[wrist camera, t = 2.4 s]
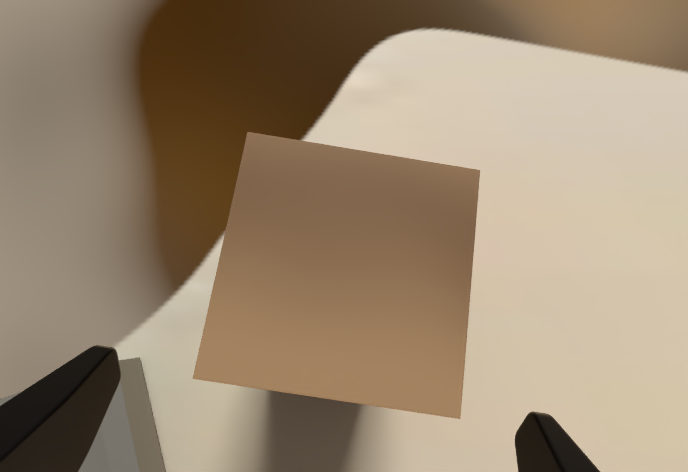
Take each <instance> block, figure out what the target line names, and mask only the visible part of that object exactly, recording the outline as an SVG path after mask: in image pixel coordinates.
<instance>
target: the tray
mask: <svg viewBox="0 0 688 472" xmlns="http://www.w3.org/2000/svg"><path fill="white" fill-rule="evenodd" d="M119 365H120V370H121V379H120V382H119V385H118V387H117V389H116V392H115V394H114V396H113V399H112V401H111V403H110V405H109V408H108V410H107V412H106V414H105V417H104V419H103V421H102V424H101V426H100V428H99V430H98V433H97V435H96V437H95V439H94V442H93V444H92V446H91V448H90V450H89V452H88V454H87V456H86V458H85V460H84V462H83V464H82V466H81V467H80V469H79V471H78V472H165V468H164V463H163V459H162V454H161V450H160V445H159V441H158V436H157V432H156V428H155V423H154V419H153V414H152V410H151V405H150V401H149V396H148V392H147V387H146V383H145V379H144V374H143V370H142V365H141V361H140V358H133V359H126V360H120V361H119ZM20 393H21V392H20ZM18 394H19V393H17V394H14V395H11V396H8V397H5V398H2V399H0V406H1V405H2V404H4V403H5V402H7V401H8V400H10V399H12V398H13V397H15V396H16V395H18Z"/></svg>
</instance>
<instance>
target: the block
mask: <svg viewBox="0 0 688 472" xmlns="http://www.w3.org/2000/svg"><path fill="white" fill-rule="evenodd" d="M479 177H480V170H475V169H469V168H463V167H457V166H451V165H445V164H439V163H433V162H427V161H421V160H415V159H409V158H403V157H397V156H391V155H384V154H378V153H372V152H366V151H360V150H354V149H348V148H342V147H336V146H330V145H324V144H318V143H312V142H306V141H300V140H294V139H288V138H281V137H275V136H269V135H263V134H257V133H251V132H248V133H247V137H246V142H245V147H244V151H243V155H242V160H241V164H240V169H239V174H238V178H237V182H236V187H235V191H234V196H233V200H232V205H231V209H230V214H229V218H228V223H227V227H226V232H225V236H224V241H223V245H222V250H221V254H220V259H219V263H218V268H217V272H216V277H215V281H214V286H213V290H212V295H211V299H210V304H209V308H208V313H207V317H206V322H205V326H204V331H203V335H202V339H201V344H200V348H199V353H198V357H197V362H196V366H195V371H194V375H193V379H199V380H205V381H212V382H219V383H225V384H232V385H238V386H245V387H252V388H258V389H265V390H272V391H278V392H285V393H292V394H298V395H305V396H311V397H318V398H325V399H331V400H338V401H345V402H351V403H358V404H365V405H371V406H378V407H385V408H391V409H398V410H404V411H411V412H418V413H424V414H431V415H438V416H444V417H451V418H458V419H460V416H461V403H462V390H463V378H464V365H465V353H466V340H467V328H468V315H469V302H470V290H471V277H472V265H473V252H474V240H475V227H476V214H477V202H478V189H479Z"/></svg>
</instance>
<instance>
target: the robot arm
mask: <svg viewBox="0 0 688 472" xmlns="http://www.w3.org/2000/svg"><path fill="white" fill-rule="evenodd" d="M120 379H121V370H120V365H119V360H118V355H117V351H116V350H115V349H114V348H113V347H107V346H100V345H96V346H93V347H91V348H89V349H87V350H86V351H84V352H83V353H81V354H80V355H78V356H77V357H75V358H74V359H72V360H70V361H69V362H67V363H66V364H64V365H63V366H61V367H60V368H58V369H56V370H55V371H53V372H52V373H51V374H49V375H47V376H46V377H44V378H43V379H41V380H39V381H38V382H36V383H35V384H33V385H32V386H30V387H29V388H27V389H25V390H24V391H22V392H21V393H19V394H18V395H16V396H15V397H13V398H12V399H10V400H8V401H7V402H5V403H4V404H2V405H1V406H0V472H78V471H79V469H80V467H81V466H82V464H83V462H84V460H85V458H86V456H87V454H88V452H89V450H90V448H91V446H92V444H93V442H94V439H95V437H96V435H97V433H98V430H99V428H100V426H101V424H102V421H103V419H104V417H105V414H106V412H107V410H108V408H109V405H110V403H111V401H112V399H113V396H114V394H115V392H116V389H117V387H118V385H119V382H120ZM515 448H516V456H517V464H518V472H600V471H599V470H598V469H597V468H596V466H595V465H594V464H593V463H592V462H591V461H590V459H589V458H588V457H587V456H586V455H585V454H584V453H583V451H582V450H581V449H580V448H579V447H578V446H577V444H576V443H575V442H574V441H573V440H572V439H571V438H570V436H569V435H568V434H567V433H566V432H565V431H564V429H563V428H562V427H561V426H560V425H559V424H558V423H557V421H556V420H555V419H554V418H553V417H552V416H550V415H549V414H545V413H539V412H530V413H529V414H528V415H527V416H526V418H525V419H524V421H523V423H522V424H521V426H520V427H519V429H518V431H517V432H516V435H515Z"/></svg>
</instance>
